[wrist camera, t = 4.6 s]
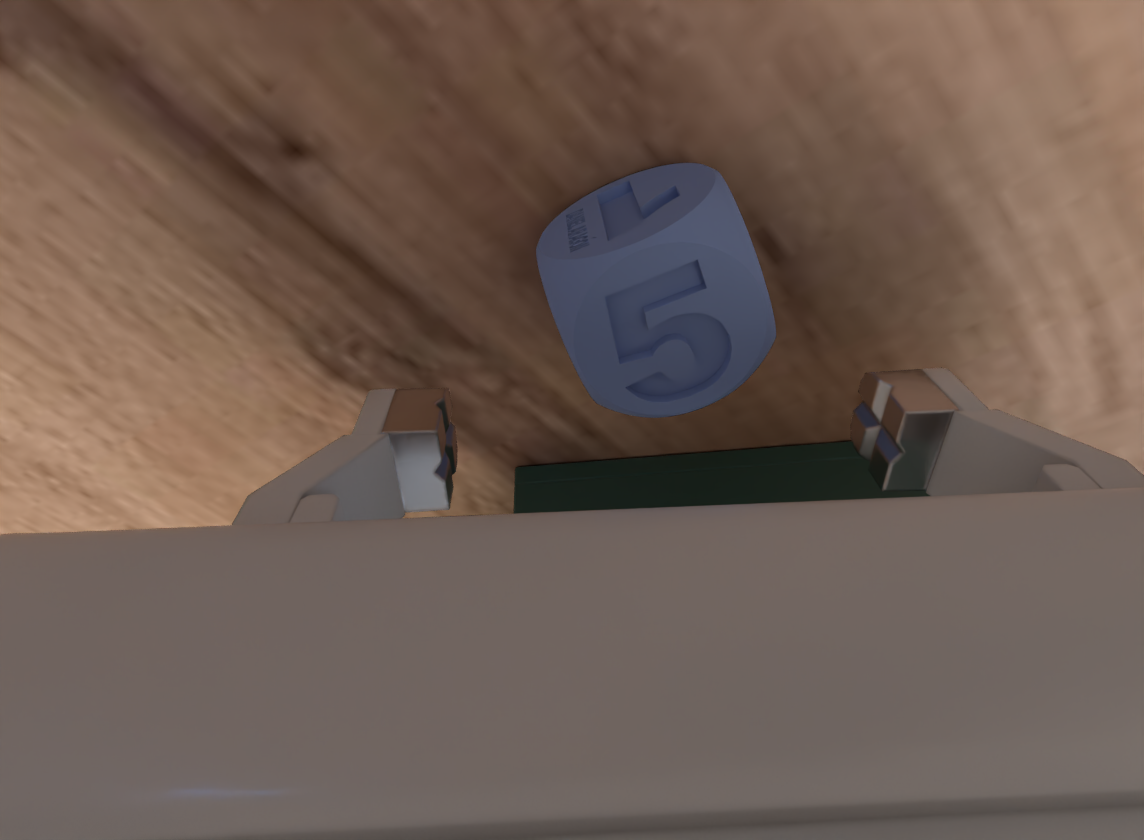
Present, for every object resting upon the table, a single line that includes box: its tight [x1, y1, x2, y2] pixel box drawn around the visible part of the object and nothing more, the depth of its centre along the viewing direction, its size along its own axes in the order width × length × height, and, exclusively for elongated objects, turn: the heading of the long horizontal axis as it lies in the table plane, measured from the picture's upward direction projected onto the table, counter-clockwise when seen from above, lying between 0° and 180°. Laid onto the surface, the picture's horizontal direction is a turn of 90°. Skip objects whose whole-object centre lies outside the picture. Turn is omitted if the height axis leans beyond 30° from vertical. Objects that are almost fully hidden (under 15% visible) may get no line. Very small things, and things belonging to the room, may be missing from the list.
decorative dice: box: [536, 163, 776, 418], centre depth 15 cm, size 4×4×4 cm
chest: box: [514, 441, 930, 514], centre depth 21 cm, size 14×16×9 cm
